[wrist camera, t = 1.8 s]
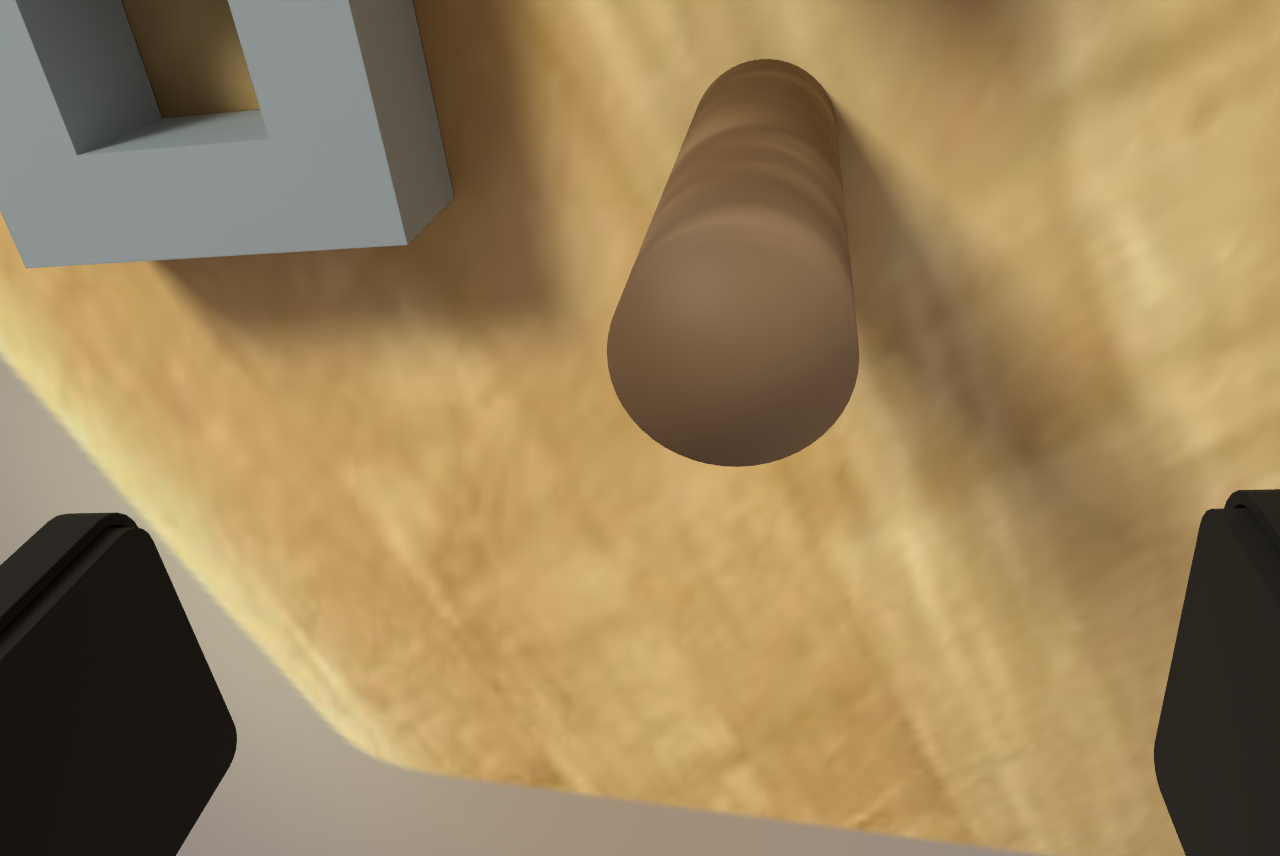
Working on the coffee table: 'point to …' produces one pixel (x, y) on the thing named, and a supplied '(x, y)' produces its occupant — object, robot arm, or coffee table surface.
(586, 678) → the coffee table surface
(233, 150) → the hole block
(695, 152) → the tall dowel
